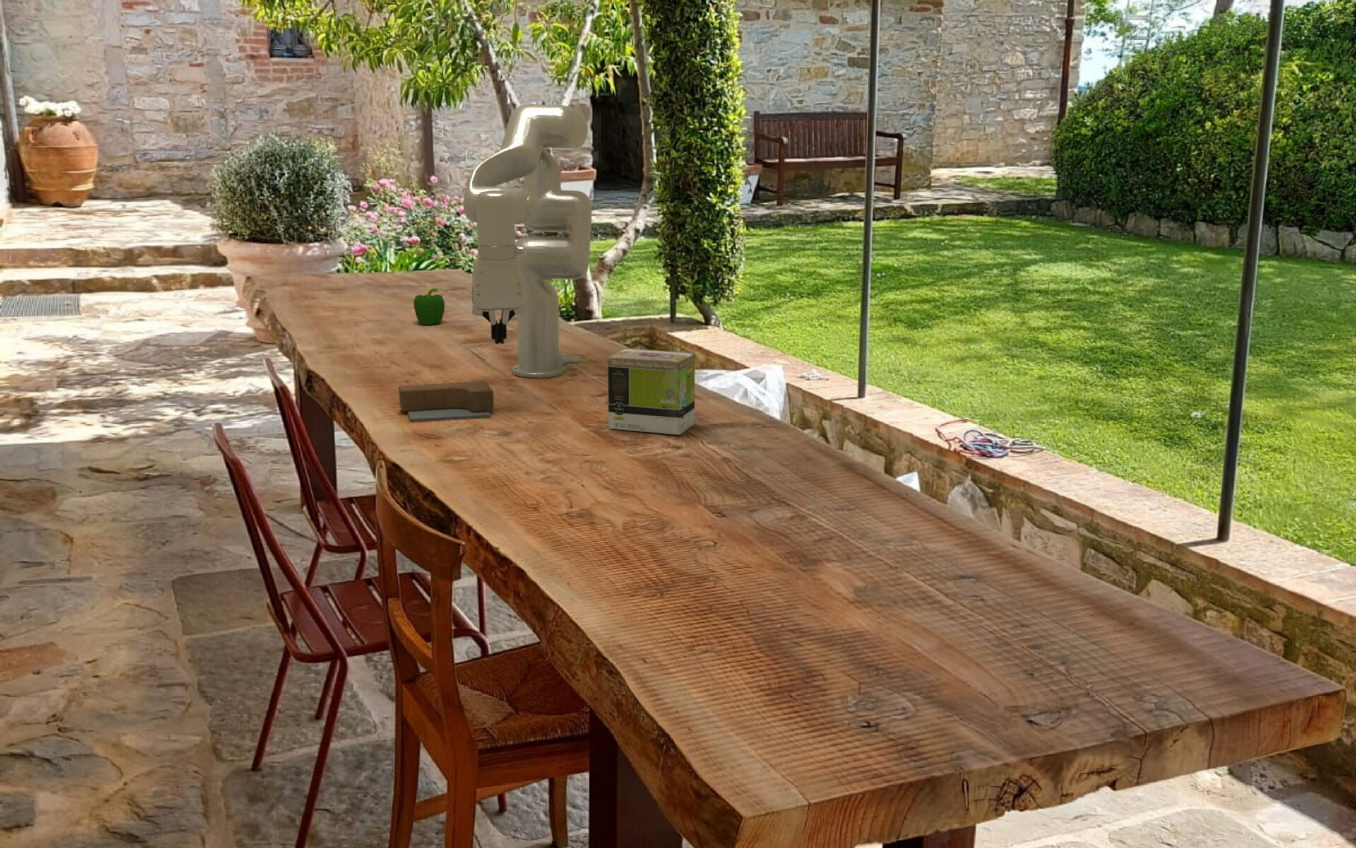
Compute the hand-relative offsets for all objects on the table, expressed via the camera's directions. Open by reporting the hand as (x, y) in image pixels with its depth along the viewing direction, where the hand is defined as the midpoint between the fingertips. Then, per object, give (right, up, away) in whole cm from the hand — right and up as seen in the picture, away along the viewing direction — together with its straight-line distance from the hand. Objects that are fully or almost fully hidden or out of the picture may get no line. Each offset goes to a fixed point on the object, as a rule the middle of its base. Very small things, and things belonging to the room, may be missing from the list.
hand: (499, 342), depth 264 cm
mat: (-11, -14, +1) cm, 18 cm away
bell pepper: (-33, +11, +95) cm, 101 cm away
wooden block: (-2, -11, +2) cm, 11 cm away
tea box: (+31, -18, -9) cm, 37 cm away
